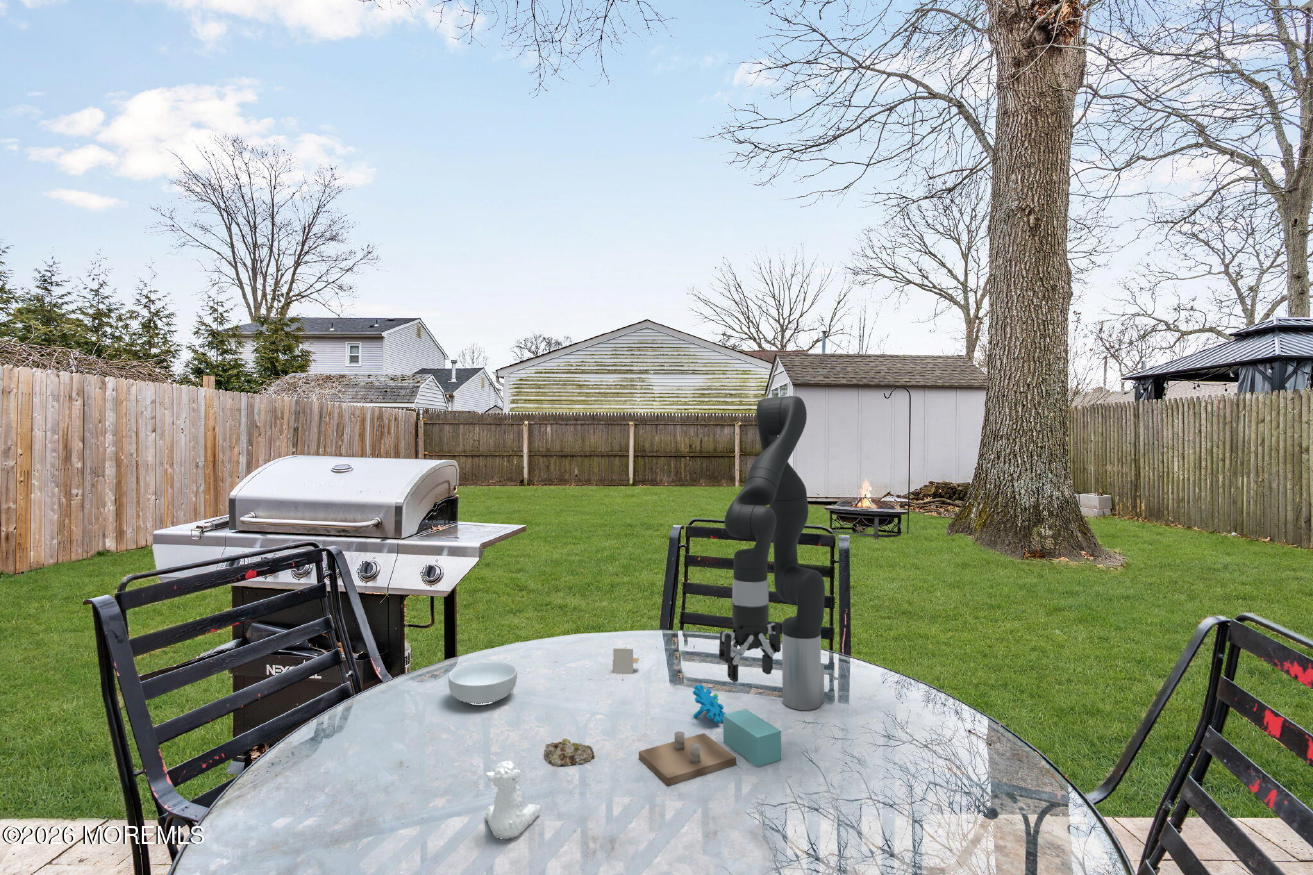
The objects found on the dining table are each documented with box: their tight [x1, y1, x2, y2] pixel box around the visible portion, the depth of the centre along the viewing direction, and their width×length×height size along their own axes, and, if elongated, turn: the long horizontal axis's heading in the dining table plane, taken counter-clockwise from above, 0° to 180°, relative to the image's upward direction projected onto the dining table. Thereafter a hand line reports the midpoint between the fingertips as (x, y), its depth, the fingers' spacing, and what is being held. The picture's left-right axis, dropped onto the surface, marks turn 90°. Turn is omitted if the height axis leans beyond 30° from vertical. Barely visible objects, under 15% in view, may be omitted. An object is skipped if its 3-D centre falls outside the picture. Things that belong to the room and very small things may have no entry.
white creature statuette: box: [485, 760, 542, 840], centre depth 115 cm, size 10×9×12 cm
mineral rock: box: [544, 737, 596, 767], centre depth 139 cm, size 11×4×8 cm
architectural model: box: [612, 646, 640, 675], centre depth 186 cm, size 3×7×7 cm, turn 84°
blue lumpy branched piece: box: [692, 683, 727, 725], centre depth 156 cm, size 11×6×10 cm
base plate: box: [638, 730, 738, 787], centre depth 137 cm, size 16×12×4 cm
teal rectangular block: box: [722, 708, 782, 768], centre depth 141 cm, size 6×12×6 cm, turn 29°
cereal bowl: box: [448, 660, 518, 704], centre depth 168 cm, size 17×17×7 cm
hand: (750, 677), depth 140 cm, fingers open, 8 cm apart
